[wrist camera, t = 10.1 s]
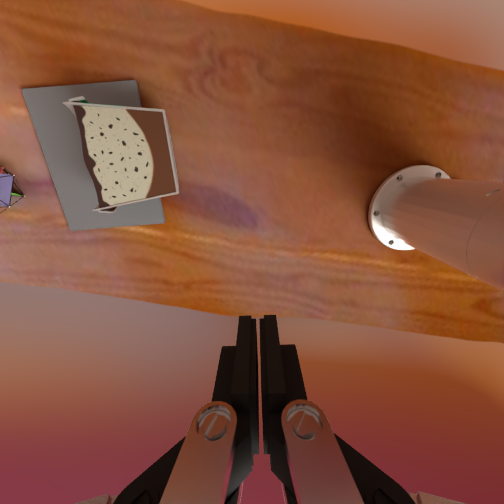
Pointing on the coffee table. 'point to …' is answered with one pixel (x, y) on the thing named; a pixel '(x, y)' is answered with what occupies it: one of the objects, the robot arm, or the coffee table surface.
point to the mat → (71, 155)
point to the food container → (126, 152)
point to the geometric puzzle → (6, 188)
